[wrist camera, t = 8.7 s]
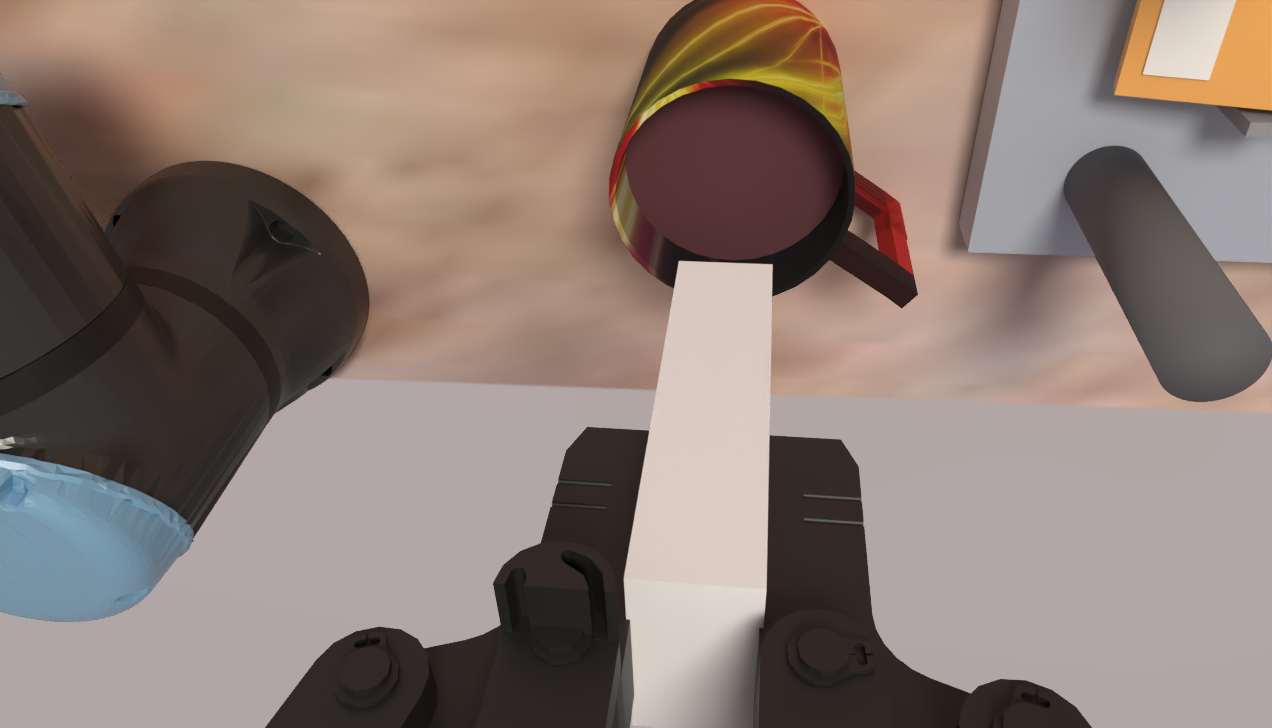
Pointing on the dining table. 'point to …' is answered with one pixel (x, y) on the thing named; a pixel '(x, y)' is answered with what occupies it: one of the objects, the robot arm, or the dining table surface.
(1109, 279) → the cylinder
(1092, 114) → the panel
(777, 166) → the mug
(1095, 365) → the dining table surface
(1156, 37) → the paddle
